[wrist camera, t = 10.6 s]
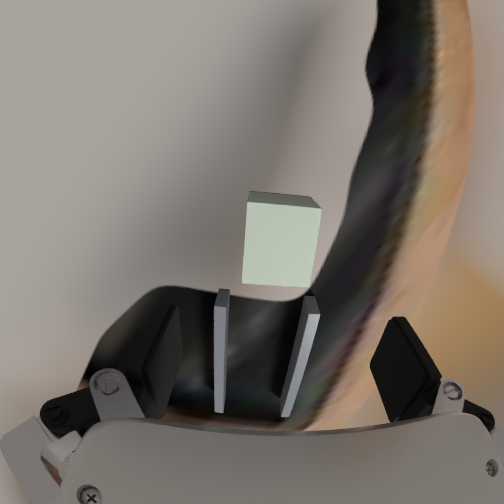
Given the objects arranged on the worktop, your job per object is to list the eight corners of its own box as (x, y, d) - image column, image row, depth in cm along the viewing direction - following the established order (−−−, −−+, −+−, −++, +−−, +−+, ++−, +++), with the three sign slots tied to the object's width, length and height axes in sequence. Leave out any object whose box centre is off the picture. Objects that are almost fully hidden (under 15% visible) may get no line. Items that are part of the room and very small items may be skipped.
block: (301, 263, 24) (309, 287, 20) (245, 258, 24) (242, 283, 20) (310, 196, 22) (322, 208, 18) (250, 191, 22) (247, 201, 18)
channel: (287, 398, 31) (288, 416, 28) (217, 394, 31) (214, 411, 28) (314, 296, 25) (320, 314, 22) (219, 288, 25) (214, 306, 22)
